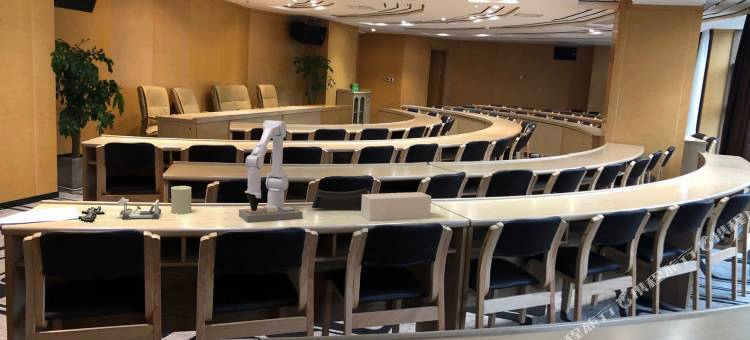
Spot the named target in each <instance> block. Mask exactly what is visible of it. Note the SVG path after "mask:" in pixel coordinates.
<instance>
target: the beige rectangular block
mask: <svg viewBox="0 0 750 340" xmlns="http://www.w3.org/2000/svg"><path fill="white" fill-rule="evenodd" d="M431 203H432V196H431V195H429V194H426V193H423V192H421V191H420V192H419V191H417V192H416V191H415V192H395V193H394V192H391V193H370V194H362V205H361V206H362V207H361V208H362V209H360V216H361V217H362V218H363V219H365V220H367V221H369V222H373V221H375V222H377V221H378V222H379V221H391V220H410V219H424V218H427V219H428V218H431V207H432V205H431Z"/></svg>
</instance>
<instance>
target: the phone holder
mask: <svg viewBox="0 0 750 340" xmlns="http://www.w3.org/2000/svg"><path fill="white" fill-rule="evenodd" d="M117 200H118V201H117V203H116V204H117V205H120V206H123V208H124V209H122V210H121V211H120V212H119V215H120V216H122V217H121V218H122V220H123V221H129V220H130V219H152V220H159V219H160V214H161V213H162V209H161V208H160V200H159V199H156V200H155V202H153V203H152V205H151V207H150V208H141V207H140V205H137V206H136V209H135V210H133V209H132V208H127V207H128V205H127V204H128V203H129V199H126V198H125V197H124V196H122V198H119V197H117ZM159 213H160V214H159Z"/></svg>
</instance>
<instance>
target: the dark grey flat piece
mask: <svg viewBox="0 0 750 340" xmlns="http://www.w3.org/2000/svg"><path fill="white" fill-rule="evenodd" d="M101 210H102V206H101V205H98V206H97V207H94V206H90V207H89V208H87V209H86V210H82V211H81V215H78V220H80V219H81V220H80V221H81V222H83V221H84V222H83V223H88V222H89V223H90V224H91V223H94V222H95V219H97V216H101V215H105V211H101ZM83 215H84V216H83Z"/></svg>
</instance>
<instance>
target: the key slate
mask: <svg viewBox="0 0 750 340" xmlns="http://www.w3.org/2000/svg"><path fill="white" fill-rule="evenodd" d="M280 210H282V211H294V209H293V208H291V207H280Z"/></svg>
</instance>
